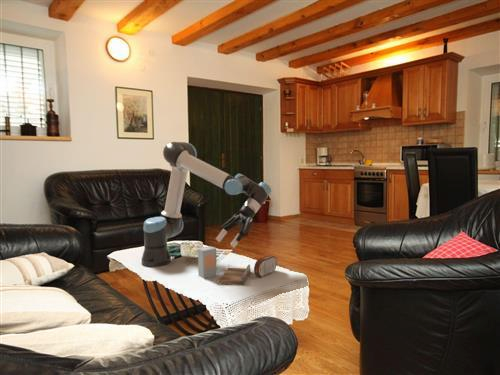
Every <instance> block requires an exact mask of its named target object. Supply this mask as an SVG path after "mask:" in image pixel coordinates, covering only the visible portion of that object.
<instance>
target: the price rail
mask: <svg viewBox="0 0 500 375" xmlns="http://www.w3.org/2000/svg"><path fill="white" fill-rule="evenodd" d="M249 270H250V271H251V264H248V265H247V266H246V270H245V271H244V273H243V275H242V276H241V282H243V281H244V279H245V277H246V275H247V274H248V272H249Z"/></svg>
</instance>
